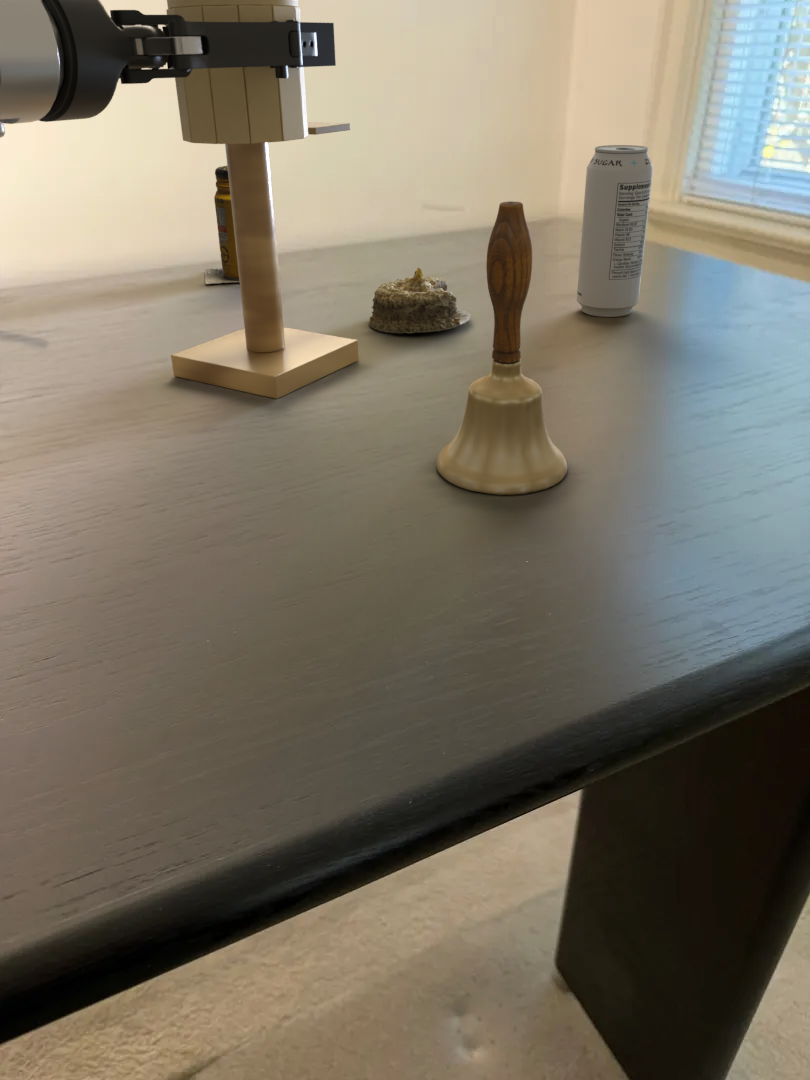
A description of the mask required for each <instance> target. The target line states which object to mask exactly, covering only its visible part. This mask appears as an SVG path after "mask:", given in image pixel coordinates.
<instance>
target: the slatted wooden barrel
mask: <svg viewBox="0 0 810 1080" xmlns="http://www.w3.org/2000/svg"><path fill="white" fill-rule="evenodd" d="M166 4H167V8H166V11H165V12H166V15H180V16H182V17H183V18H184V20H185V21H191V22H271V21H279V22H285V21H286V20H294V21H298V22H302V18H301V17H302V15H301V7H299V0H166ZM174 81H175V88H176V97H177V105H178V112H179V120H180V127H181V136H182V140H183V142H188V143H191V144H202V145H203V144H205V145H206V144H207V145H225V144H249V143H267V142H268V143H279V142H289V141H296V140H303V139H305V138H307V137H309V135H311V136H313V135H314V136H316V135H324V134H331V133H339V132H346V131H350V130H351V123H349V122H322V121H321V122H319V121H318V122H316V121H311V122H310V121H308V108H307V93H306V78H305V67H298V68H288V78H276V73H275V68H270V66H262V67H231V68H203V69H192V71H191V73H190V75H189V76H188V77H182V78H174Z"/></svg>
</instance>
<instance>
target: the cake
mask: <svg viewBox="0 0 810 1080" xmlns="http://www.w3.org/2000/svg"><path fill="white" fill-rule="evenodd" d="M448 287H449V285H448V283H447V280H445V279H444V278H440V277H436V278H435V277H432V276H430V275H425V276H424V274H423V272H422V269H421V267H417V268H416V270H414V275H412V276H407V277H406V278H401V279H399V278H397V279H395V280H390V281H388V282H385V283H383V284H381V285H379V286H378V287H377V288H376V290H375V291H374V297H373V298H372V300H371V301H372V303H373V304H372V311H371V314H372V315H371V316H369V322H368V326H369V327H370V328H371V329H373V330H375V331H379V332H384V333H391V334H405V333H406V334H408V335H409V334H417V333H422V334H423V333H432V332H440V331H441V332H442V331H447V330H451V329H454V328H457V327H460V326H462V325H464V324H467V323H468V322H470V320H471V319H472V318H471V317H472V316H471V314H470V313H469V312H468V311H464V310H461V309H458V307H457V299H458V297H456V296H455V295H454V294H453V292H452V291H448Z"/></svg>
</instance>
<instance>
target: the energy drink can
mask: <svg viewBox="0 0 810 1080" xmlns="http://www.w3.org/2000/svg"><path fill="white" fill-rule="evenodd" d="M648 152H649V147H648V146H644V145H635V144H633V145H631V144H611V145H610V144H609V145H599V146H595V147H594V154H593V156H592V157H591V160H590V161H589V162H588V164H587V166H586V175H585V186H584V187H585V188H584V199H583V213H582V226H581V238H580V250H579V265H578V267H579V268H578V276H577V277H578V278H577V290H576V302H577V303H578V304H579V305H580V306H581V309H580V310H581V311H582V313H584V314H587V315H589V316H595V317H604V318H617V317H623V316H627V315H629V314H631V313H632V312H633V308H634V307H635V306H636V305H637V304H638V303H639V299H640V298H639V297H640V291H641V280H642V272H643V263H644V255H645V245H646V237H647V235H646V234H647V226H648V216H649V208H650V201H651V200H650V199H651V190H652V181H653V174H654V173H653V172H654V166H653V163H652V161H651V159H650V157H649V153H648Z"/></svg>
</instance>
